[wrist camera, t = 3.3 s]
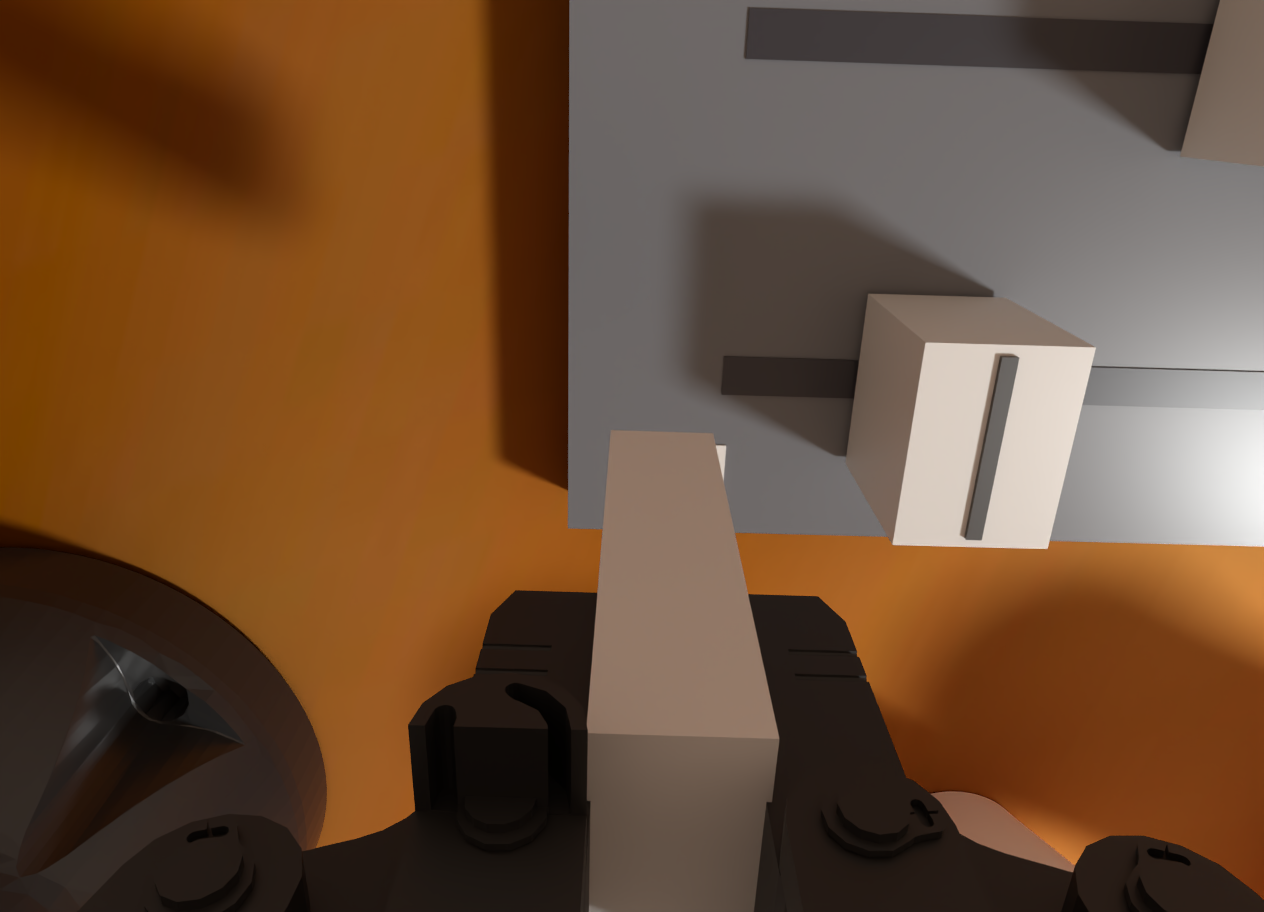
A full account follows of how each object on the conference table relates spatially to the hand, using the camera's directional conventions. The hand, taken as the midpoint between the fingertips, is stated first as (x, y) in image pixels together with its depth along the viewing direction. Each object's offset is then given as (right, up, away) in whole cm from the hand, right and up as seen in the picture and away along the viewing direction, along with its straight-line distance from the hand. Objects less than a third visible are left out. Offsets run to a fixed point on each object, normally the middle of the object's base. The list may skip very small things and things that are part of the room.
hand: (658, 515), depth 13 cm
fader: (+6, +2, +7) cm, 9 cm away
